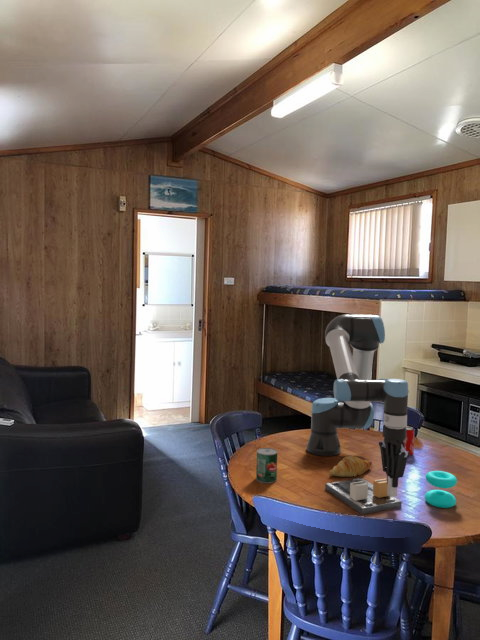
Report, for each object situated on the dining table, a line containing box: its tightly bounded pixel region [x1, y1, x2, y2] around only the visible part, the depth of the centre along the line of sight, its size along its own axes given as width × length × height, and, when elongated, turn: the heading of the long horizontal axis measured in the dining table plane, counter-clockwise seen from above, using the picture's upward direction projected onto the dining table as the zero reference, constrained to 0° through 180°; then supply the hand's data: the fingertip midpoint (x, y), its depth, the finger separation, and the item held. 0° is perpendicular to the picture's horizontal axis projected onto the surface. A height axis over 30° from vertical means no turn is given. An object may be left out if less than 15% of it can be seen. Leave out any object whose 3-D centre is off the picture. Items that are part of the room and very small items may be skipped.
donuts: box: [424, 470, 458, 509], centre depth 176 cm, size 10×10×10 cm
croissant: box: [329, 455, 373, 478], centre depth 204 cm, size 21×10×8 cm, turn 121°
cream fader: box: [350, 481, 368, 501], centre depth 174 cm, size 3×5×5 cm, turn 113°
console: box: [324, 477, 403, 515], centre depth 179 cm, size 22×16×3 cm
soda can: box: [404, 425, 415, 457], centre depth 227 cm, size 6×6×12 cm
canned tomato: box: [255, 447, 278, 484], centre depth 195 cm, size 8×8×11 cm
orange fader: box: [372, 477, 388, 498], centre depth 176 cm, size 3×5×5 cm, turn 113°
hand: (391, 495), depth 172 cm, fingers closed
